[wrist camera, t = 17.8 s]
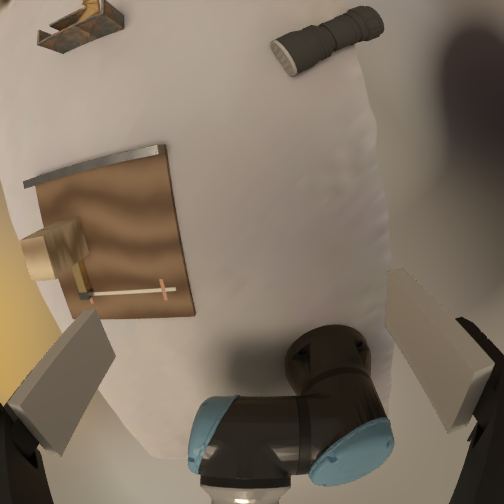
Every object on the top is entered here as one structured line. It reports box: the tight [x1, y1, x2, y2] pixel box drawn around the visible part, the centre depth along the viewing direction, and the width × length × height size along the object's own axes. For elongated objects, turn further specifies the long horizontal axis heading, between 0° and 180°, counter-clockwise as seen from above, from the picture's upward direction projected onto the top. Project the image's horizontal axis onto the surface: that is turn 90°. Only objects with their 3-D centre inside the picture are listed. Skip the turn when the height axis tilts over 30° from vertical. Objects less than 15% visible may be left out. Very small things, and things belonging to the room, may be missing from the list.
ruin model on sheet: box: [37, 0, 124, 54], centre depth 27 cm, size 11×3×10 cm, turn 97°
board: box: [23, 145, 196, 319], centre depth 41 cm, size 26×24×4 cm
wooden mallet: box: [20, 217, 94, 300], centre depth 39 cm, size 13×5×10 cm, turn 6°
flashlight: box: [270, 6, 384, 76], centre depth 30 cm, size 15×5×5 cm, turn 122°
